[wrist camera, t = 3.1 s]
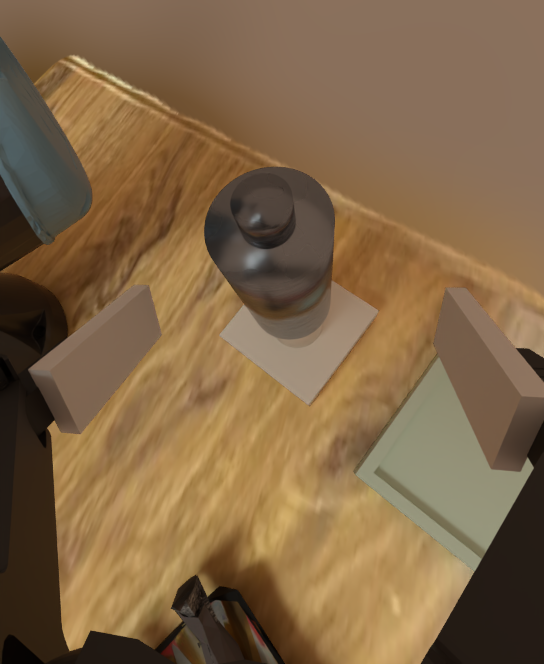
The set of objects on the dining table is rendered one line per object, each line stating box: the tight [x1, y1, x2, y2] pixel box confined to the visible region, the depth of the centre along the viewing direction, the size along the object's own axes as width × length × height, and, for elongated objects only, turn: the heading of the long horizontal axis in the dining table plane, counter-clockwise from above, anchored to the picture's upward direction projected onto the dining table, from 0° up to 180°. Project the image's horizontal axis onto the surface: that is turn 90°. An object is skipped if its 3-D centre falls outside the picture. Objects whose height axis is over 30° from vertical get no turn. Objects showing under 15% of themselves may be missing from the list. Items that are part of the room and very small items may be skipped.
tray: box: [354, 353, 534, 571], centre depth 26 cm, size 14×14×2 cm
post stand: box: [219, 281, 379, 406], centre depth 28 cm, size 10×10×8 cm
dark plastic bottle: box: [204, 167, 335, 340], centre depth 18 cm, size 6×6×12 cm
